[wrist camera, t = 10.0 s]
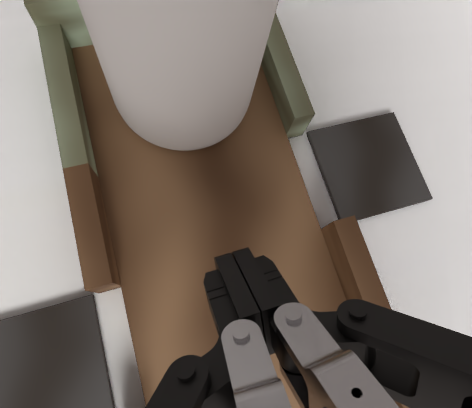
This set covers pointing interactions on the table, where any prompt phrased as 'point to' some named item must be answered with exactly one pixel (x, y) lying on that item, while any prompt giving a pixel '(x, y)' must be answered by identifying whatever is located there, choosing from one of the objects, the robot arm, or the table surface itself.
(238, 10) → the pill bottle
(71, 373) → the lane
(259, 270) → the robot arm
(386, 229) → the table surface
